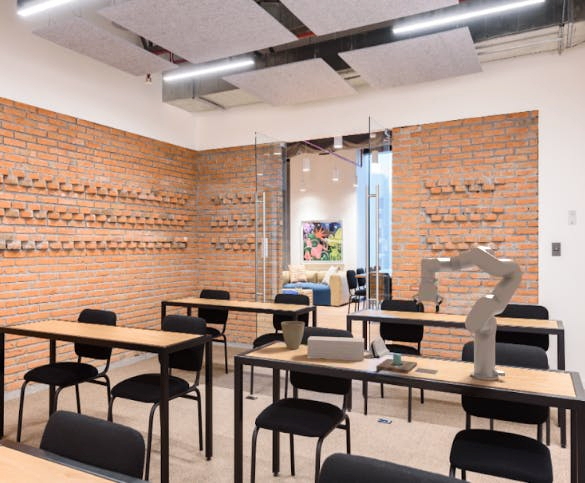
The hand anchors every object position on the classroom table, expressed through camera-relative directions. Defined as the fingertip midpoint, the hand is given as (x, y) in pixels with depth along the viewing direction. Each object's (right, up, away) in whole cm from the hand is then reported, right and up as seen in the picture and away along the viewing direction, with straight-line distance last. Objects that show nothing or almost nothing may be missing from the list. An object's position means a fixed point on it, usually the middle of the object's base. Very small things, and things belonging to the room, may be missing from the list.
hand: (427, 312), depth 248 cm
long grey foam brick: (-49, -29, +14) cm, 59 cm away
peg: (-20, -28, -14) cm, 37 cm away
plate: (-7, -28, -21) cm, 35 cm away
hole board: (-20, -28, -13) cm, 37 cm away
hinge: (-23, -29, +21) cm, 42 cm away
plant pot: (-74, -29, +37) cm, 88 cm away
